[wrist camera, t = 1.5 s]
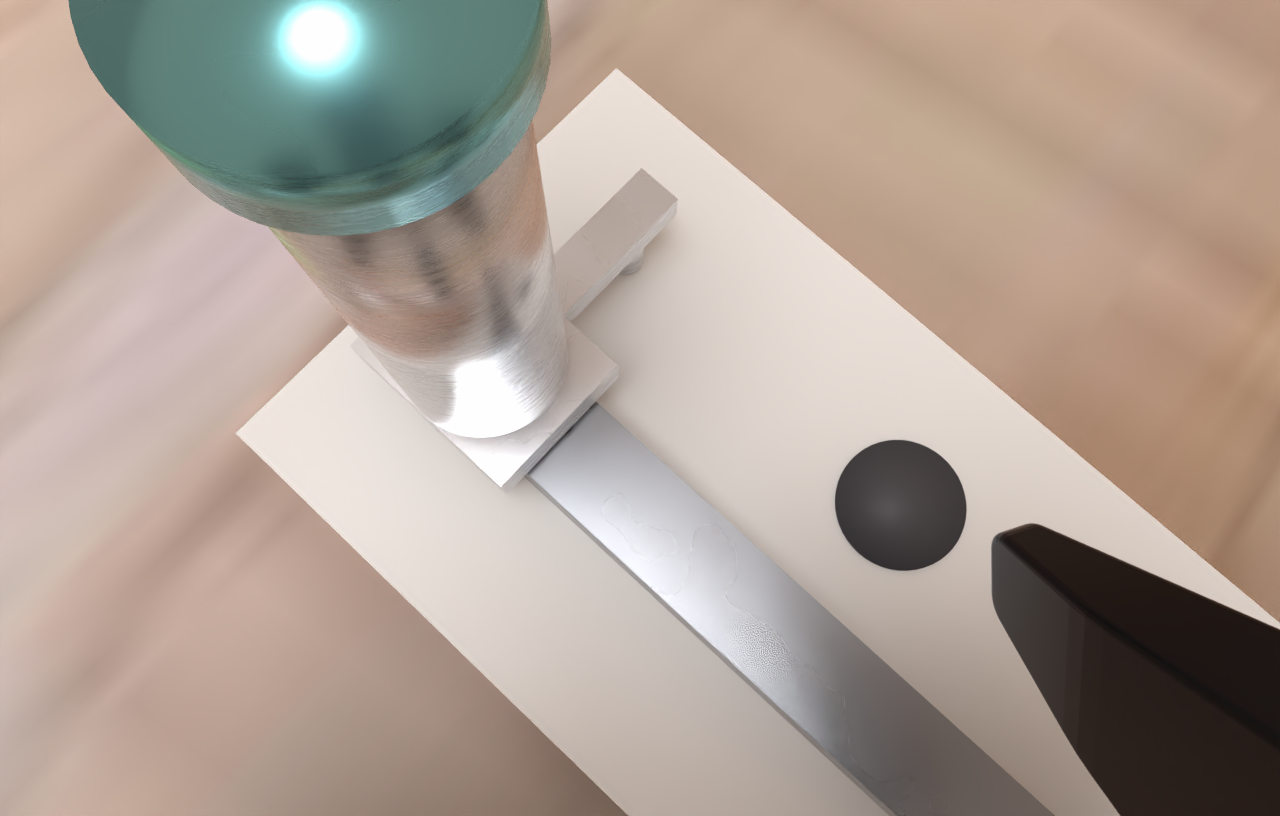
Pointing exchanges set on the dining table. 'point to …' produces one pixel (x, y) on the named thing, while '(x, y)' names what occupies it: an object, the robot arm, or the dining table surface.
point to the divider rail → (770, 629)
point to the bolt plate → (728, 497)
